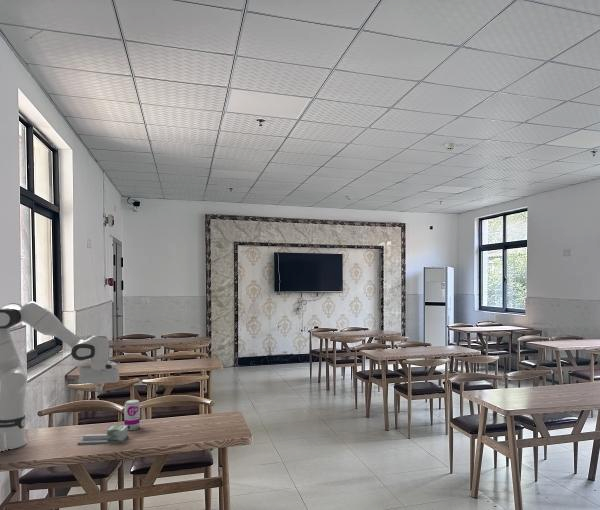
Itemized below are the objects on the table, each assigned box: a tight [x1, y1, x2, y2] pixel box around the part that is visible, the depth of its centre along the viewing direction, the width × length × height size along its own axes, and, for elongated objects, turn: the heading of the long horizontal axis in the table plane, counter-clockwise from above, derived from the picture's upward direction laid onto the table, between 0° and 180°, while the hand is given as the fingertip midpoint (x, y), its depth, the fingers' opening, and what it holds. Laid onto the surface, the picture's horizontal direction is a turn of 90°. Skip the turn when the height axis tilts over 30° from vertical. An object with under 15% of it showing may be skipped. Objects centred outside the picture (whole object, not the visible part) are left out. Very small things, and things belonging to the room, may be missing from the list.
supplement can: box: [123, 399, 141, 431], centre depth 248 cm, size 8×8×15 cm
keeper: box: [106, 424, 124, 440], centre depth 229 cm, size 6×7×5 cm
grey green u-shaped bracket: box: [77, 425, 129, 446], centre depth 228 cm, size 22×10×6 cm, turn 95°
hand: (98, 391), depth 235 cm, fingers closed
